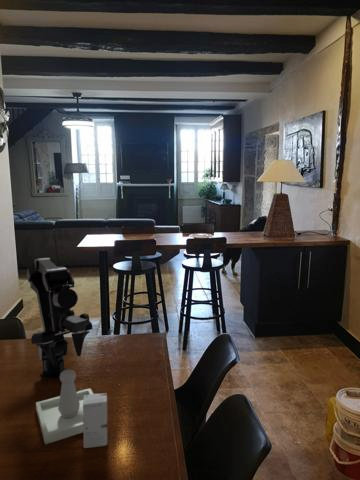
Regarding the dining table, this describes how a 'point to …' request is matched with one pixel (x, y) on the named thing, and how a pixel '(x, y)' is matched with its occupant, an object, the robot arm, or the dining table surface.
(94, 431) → the skincare box
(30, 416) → the dining table surface
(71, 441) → the dining table surface
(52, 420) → the tray
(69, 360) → the dining table surface
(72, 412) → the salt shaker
